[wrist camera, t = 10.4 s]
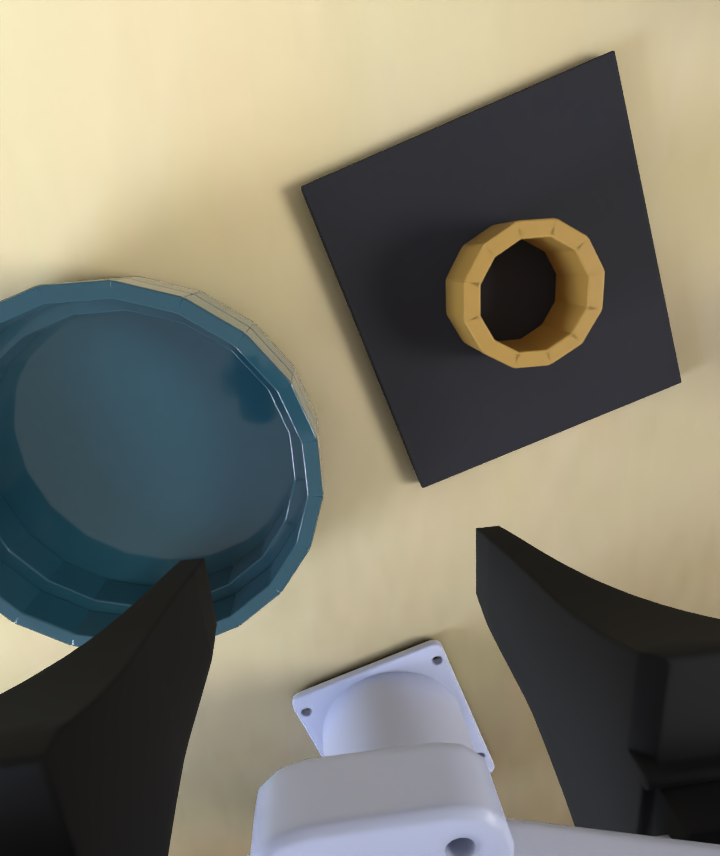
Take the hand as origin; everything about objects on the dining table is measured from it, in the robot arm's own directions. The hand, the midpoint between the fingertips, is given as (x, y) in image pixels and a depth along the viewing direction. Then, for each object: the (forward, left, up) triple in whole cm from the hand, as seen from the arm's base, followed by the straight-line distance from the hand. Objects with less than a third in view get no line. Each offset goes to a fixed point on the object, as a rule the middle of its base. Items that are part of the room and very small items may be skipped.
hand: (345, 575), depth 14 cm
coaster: (+4, -9, -9) cm, 13 cm away
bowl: (+3, +7, -9) cm, 12 cm away
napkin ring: (+4, -9, -9) cm, 13 cm away
